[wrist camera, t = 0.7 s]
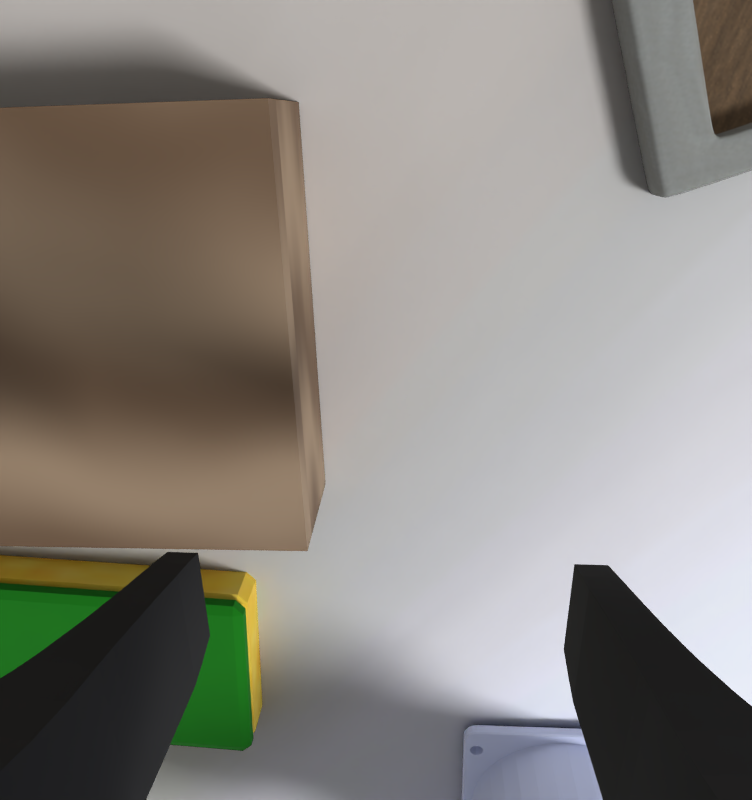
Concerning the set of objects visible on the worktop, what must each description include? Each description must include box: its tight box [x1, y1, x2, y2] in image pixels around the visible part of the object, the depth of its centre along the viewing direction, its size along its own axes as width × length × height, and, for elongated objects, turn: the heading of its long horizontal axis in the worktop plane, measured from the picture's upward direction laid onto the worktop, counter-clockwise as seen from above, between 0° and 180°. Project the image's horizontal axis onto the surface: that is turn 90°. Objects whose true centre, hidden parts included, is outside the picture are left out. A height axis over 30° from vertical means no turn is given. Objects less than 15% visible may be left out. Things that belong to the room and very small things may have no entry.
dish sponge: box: [0, 555, 262, 751], centre depth 25 cm, size 7×14×2 cm, turn 88°
